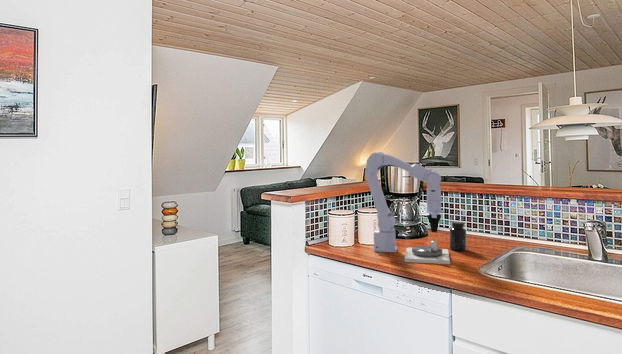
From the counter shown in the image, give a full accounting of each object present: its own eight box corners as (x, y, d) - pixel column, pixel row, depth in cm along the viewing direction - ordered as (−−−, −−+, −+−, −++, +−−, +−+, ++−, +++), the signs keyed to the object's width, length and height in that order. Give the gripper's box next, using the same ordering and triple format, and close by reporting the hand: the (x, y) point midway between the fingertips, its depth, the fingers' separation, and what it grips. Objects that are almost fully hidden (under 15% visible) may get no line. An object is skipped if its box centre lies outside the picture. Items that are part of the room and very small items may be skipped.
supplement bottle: (467, 251, 163) (467, 224, 163) (451, 251, 165) (450, 224, 164) (464, 247, 170) (464, 221, 169) (448, 247, 172) (448, 221, 171)
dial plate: (404, 261, 152) (404, 257, 151) (407, 250, 168) (407, 247, 168) (449, 264, 146) (449, 260, 146) (447, 252, 163) (447, 248, 163)
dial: (406, 251, 161) (406, 237, 160) (429, 247, 165) (429, 234, 164) (423, 258, 149) (423, 243, 149) (448, 254, 153) (448, 240, 153)
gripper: (444, 202, 152) (444, 236, 153) (443, 198, 166) (443, 228, 167) (426, 202, 154) (426, 235, 155) (426, 197, 168) (426, 228, 169)
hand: (434, 231), depth 161 cm, fingers closed
